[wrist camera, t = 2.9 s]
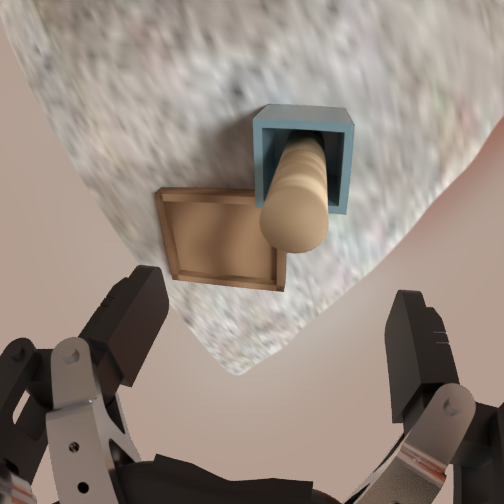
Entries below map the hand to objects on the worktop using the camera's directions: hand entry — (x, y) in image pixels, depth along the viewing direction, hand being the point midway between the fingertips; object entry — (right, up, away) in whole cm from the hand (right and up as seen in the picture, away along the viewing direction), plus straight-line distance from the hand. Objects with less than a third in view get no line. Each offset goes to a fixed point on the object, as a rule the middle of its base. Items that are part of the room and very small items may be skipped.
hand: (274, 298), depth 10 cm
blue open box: (+4, +11, +16) cm, 20 cm away
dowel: (+4, +11, +15) cm, 19 cm away
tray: (-4, +3, +23) cm, 24 cm away
